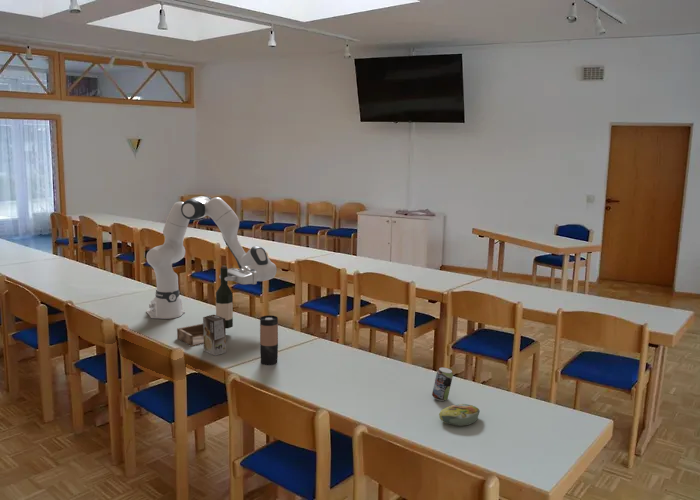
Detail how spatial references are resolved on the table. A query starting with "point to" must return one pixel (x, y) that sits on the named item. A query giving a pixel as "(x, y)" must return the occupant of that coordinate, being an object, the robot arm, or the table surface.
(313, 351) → the table surface
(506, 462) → the table surface
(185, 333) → the tray
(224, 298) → the wine bottle
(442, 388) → the beverage can
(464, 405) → the cell model
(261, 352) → the travel mug
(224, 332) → the coffee box
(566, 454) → the table surface
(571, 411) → the table surface
